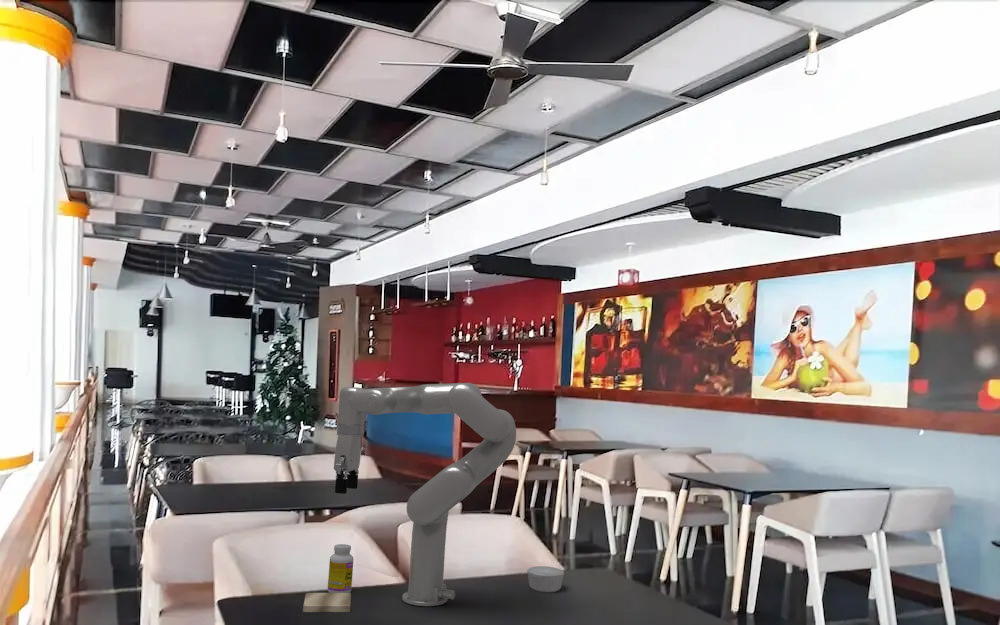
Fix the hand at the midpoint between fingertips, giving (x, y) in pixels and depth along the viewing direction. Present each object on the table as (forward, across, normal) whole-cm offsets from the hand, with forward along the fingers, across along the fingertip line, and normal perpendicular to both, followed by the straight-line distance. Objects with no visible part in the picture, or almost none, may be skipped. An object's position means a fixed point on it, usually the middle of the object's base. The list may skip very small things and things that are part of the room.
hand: (346, 490), depth 227 cm
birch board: (+28, +13, +1) cm, 31 cm away
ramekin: (+29, -24, +56) cm, 68 cm away
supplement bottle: (+28, 0, 0) cm, 28 cm away
